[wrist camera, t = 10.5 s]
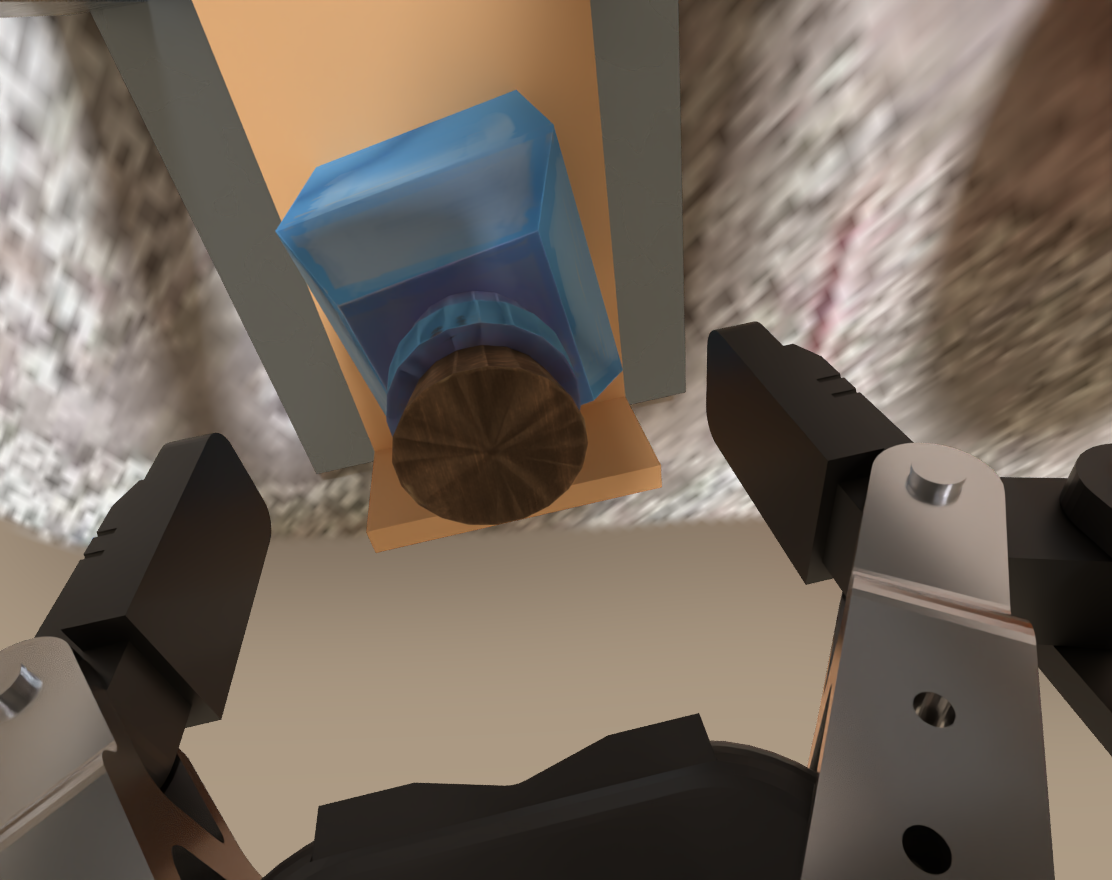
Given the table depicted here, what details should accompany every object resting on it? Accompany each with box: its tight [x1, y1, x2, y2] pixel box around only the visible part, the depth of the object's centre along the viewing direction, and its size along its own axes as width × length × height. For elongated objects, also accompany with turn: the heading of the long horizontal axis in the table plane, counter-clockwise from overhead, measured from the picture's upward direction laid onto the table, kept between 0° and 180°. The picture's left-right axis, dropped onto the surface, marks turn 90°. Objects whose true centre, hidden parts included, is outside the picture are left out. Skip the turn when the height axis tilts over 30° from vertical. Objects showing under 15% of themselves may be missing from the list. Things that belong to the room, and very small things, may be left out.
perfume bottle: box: [276, 90, 623, 525], centre depth 15 cm, size 6×6×12 cm
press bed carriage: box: [192, 0, 662, 553], centre depth 19 cm, size 16×10×6 cm, turn 8°
